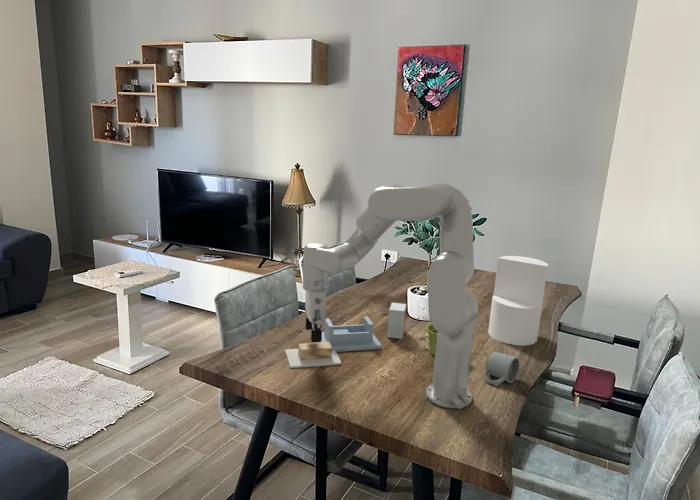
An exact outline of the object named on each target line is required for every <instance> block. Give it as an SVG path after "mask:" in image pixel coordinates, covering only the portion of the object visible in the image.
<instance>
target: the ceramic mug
mask: <svg viewBox="0 0 700 500" xmlns="http://www.w3.org/2000/svg"><path fill="white" fill-rule="evenodd" d="M520 363H521V362H520V360H519V358H518V357H517V356H513V355H510V354H509V355H508V354H507V353H506V354H505V353H501V352H499V351H492V352H491V353H489V355H488V356H487V358H486V360H485V363H484V365H485V366H484V367H485V371H484V374H483V375H484V380H485V381H486V383H488V384H490V385H492V386H497V385H501V383H503V382H507V383H508V384H511V383H513V382H514V381H515V380H516V378H517V377H518V374H519V372H520V365H521V364H520ZM488 374H489V375H491V376H492V377H495V378H497V379H495V380H491V379H489V378H488V377H487V376H488Z"/></svg>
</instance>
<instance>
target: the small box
mask: <svg viewBox="0 0 700 500" xmlns="http://www.w3.org/2000/svg"><path fill="white" fill-rule="evenodd" d="M406 315H407V303H400V302H391V303H390V307H389V308H388V320H387V322H388V323H387V335H386V336H387V338H389V339H390V338H391V339H400V340H403V339H404V334H405V330H406V328H405V326H406Z"/></svg>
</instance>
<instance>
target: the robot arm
mask: <svg viewBox="0 0 700 500" xmlns="http://www.w3.org/2000/svg"><path fill="white" fill-rule="evenodd" d="M469 202H470V201H468V199H467V197H466V195H465V194H464V193H463V192H462V191H460V190H459V188H456V187H455V186H453V185H451V184H448V183H443V182H435V183H431V184H427V185H424V186H411V187H410V186H409V187H405V186H402V185H400V184H390V185H389V184H387V185H384V186H380V187H378V188H375V189H374V190H373V191H372V192H371V193H370V195H369V197H368V200H367V207H366V208H365V209H364V210H363V211H362V212H361V213H360V214H359V215H358V217H357V218H356V219H355V224H356V227H357V228H356V230H354V232H353V233H352V235H351V236H349V238H347V240H346V241H345V242H343V244H340V245H337V246H335V247H331V248H329V246H328V245H327V244H324V243H321V242H309V243H307V244H306V245H304V247H303V265H302V289H303V290H304V291H305V298H304V299H305V301H304V302H305V303H304V309H305V310H304V311H305V316H306V317H305V330H307V331H311V333H310V343H318V342H321V341H322V332H323V325H322V322H323V323H325V320H326V319H327V315H326V314H327V313H326V291H327V290H328V275H332V276H333V275H339V274H341V273H343V272H345V271H346V270H347V271H348V270H349V269H350V268H353V267H355V266H356V265H357V264H358V263H359V262H361V260H363V258H365V256H367V255H368V254H369V252H370V251H372V249H373V248H375V247H374V246H376V245H377V243H378V241H379V240H380V239H381V237H382V236H383V235H384V234H385V233H386V232H387V231H388V230H389V229H390V228H391V227H392V226H393V225H394V224H395V223H396V222H397V221H403V222H405V221H407V222H410V221H411V222H413V221H414V222H415V221H416V222H421V221H423V222H424V221H430V220H434V219H435V218H438V217H439V220H440V226H439V256H438V257H436V258H435V259H434V260H433V261H432V263H431V264H430V265H429V269H428V272H427V295H428V297H427V299H428V316H429V321H430V324H432V325H433V327H434V328H435V329H436V330H437V331H438V334H437V343H436V352H435V355H434V364H433V365H434V366H433V375H432V383H431V384H430V385H428V386H427V388H426V391H425V395H426V397H427V399H428V400H429V401H430V402H431V403H432V404H434V405H436V406H439V407H442V408H447V409H458V410H459V409H460V410H461V409H463V408H466V407H468V406H469V405H470V404H471V403H472V400H473V395H472V393H471V392H470V390H469V389H468V383H469V374H470V366H471V360H472V358H471V357H472V349H473V341H474V335H475V328H476V324H477V318H478V314H479V313H478V312H479V302H478V299H477V297H476V295H475V293H474V292H472V290H470V289H469V288H466V284H467V283H468V282H469V281H470V280H471V279H472V277H473V275H474V273H475V272H474V271H475V261H474V260H475V259H474V236H473V235H474V233H473V232H474V231H473V230H474V229H473V214H472V208H471V204H470V203H469Z"/></svg>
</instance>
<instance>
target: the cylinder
mask: <svg viewBox="0 0 700 500" xmlns="http://www.w3.org/2000/svg"><path fill="white" fill-rule="evenodd" d="M548 268H549V264H548V263H547V262H545V261H543V260H541V259H538V258H534V257H527V256H520V255H504V256H499V257H497V263H496V270H495V271H496V272H495V281H494V286H493V287H494V289H493V295H492V298H491V307H490V314H489V315H490V316H489V324H488V335H489V336H490V338H492V339H493V340H495V341H497V342H500V343H504V344H506V345H511V344H512V345H513V346H531V344H532V345H534V344H536V343H537V341H538V337H539V336H538V335H539V330H540V323H541V316H542V310H543V304H544V295H545V291H546V282H547V277H548V275H547V274H548ZM535 342H536V343H535Z"/></svg>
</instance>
